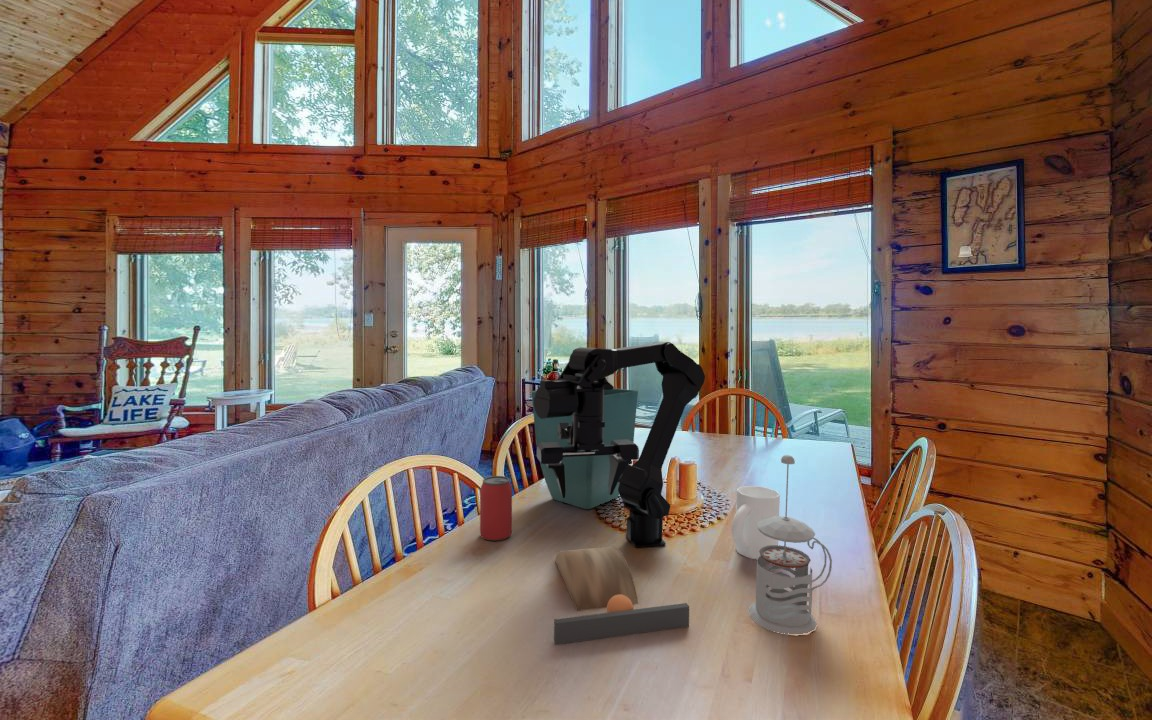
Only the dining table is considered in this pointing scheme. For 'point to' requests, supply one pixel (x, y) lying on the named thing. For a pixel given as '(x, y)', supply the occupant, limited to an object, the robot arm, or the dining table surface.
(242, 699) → the dining table surface
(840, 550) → the dining table surface
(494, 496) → the beer can
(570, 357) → the robot arm
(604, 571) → the hump
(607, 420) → the flower pot
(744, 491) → the mug
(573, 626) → the bar
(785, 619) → the french press
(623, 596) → the ball
